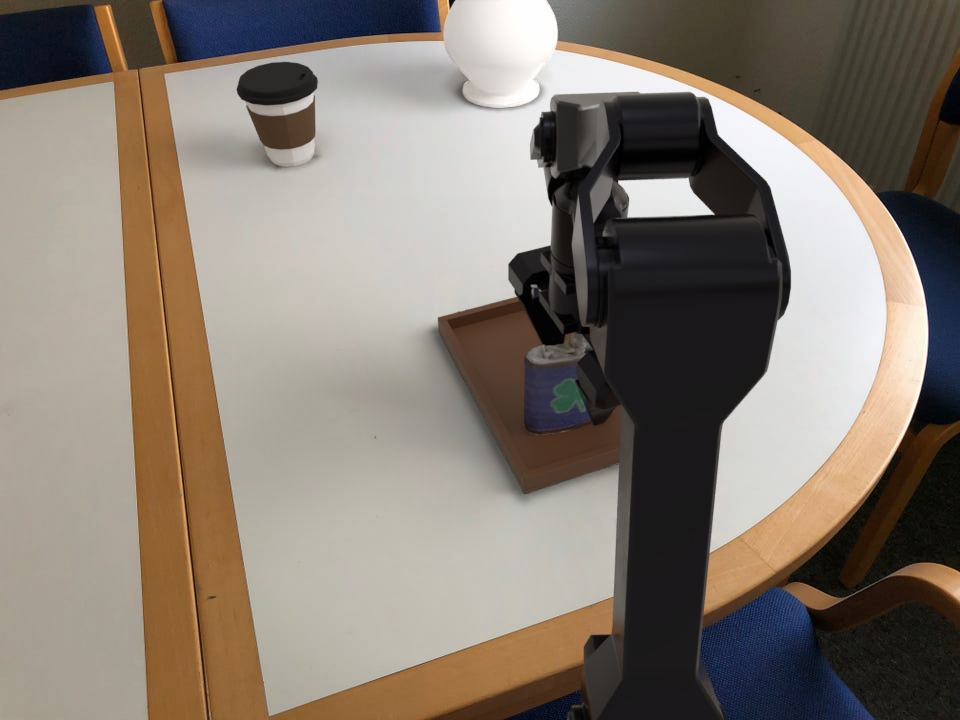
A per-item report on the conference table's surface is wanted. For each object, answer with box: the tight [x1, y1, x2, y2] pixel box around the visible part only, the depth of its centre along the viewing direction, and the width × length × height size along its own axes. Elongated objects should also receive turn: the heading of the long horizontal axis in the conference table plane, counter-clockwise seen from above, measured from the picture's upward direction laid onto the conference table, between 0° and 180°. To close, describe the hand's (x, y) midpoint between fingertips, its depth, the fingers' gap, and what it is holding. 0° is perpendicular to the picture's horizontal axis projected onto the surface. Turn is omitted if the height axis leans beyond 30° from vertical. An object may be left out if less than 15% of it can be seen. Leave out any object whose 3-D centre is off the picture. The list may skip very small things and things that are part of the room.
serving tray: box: [437, 296, 621, 495], centre depth 79 cm, size 24×18×2 cm
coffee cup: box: [236, 61, 319, 168], centre depth 111 cm, size 11×11×12 cm
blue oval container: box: [523, 333, 615, 435], centre depth 72 cm, size 9×3×11 cm, turn 107°
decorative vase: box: [442, 0, 559, 109], centre depth 121 cm, size 18×18×25 cm
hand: (575, 389), depth 73 cm, fingers open, 9 cm apart
